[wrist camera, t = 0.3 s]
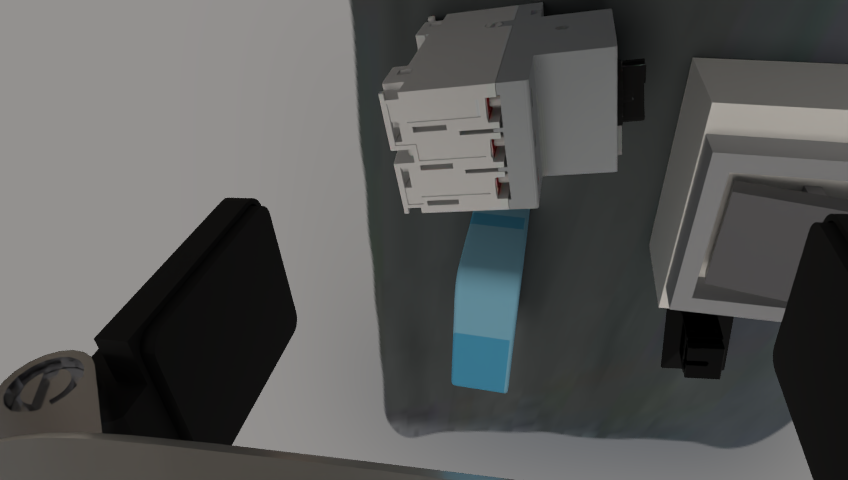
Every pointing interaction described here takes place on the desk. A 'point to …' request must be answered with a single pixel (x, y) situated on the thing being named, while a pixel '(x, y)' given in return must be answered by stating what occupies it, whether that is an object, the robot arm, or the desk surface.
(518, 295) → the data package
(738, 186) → the rocker
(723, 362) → the black slotted block
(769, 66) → the switch panel
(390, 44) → the desk surface
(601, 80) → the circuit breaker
